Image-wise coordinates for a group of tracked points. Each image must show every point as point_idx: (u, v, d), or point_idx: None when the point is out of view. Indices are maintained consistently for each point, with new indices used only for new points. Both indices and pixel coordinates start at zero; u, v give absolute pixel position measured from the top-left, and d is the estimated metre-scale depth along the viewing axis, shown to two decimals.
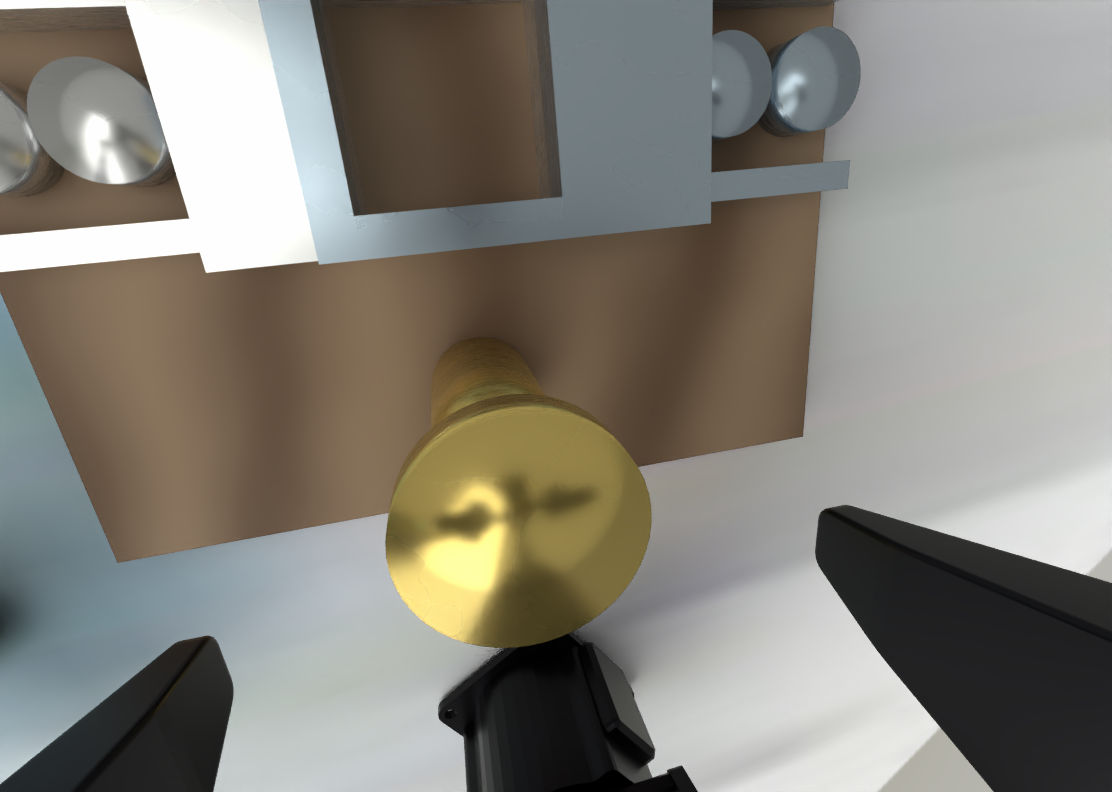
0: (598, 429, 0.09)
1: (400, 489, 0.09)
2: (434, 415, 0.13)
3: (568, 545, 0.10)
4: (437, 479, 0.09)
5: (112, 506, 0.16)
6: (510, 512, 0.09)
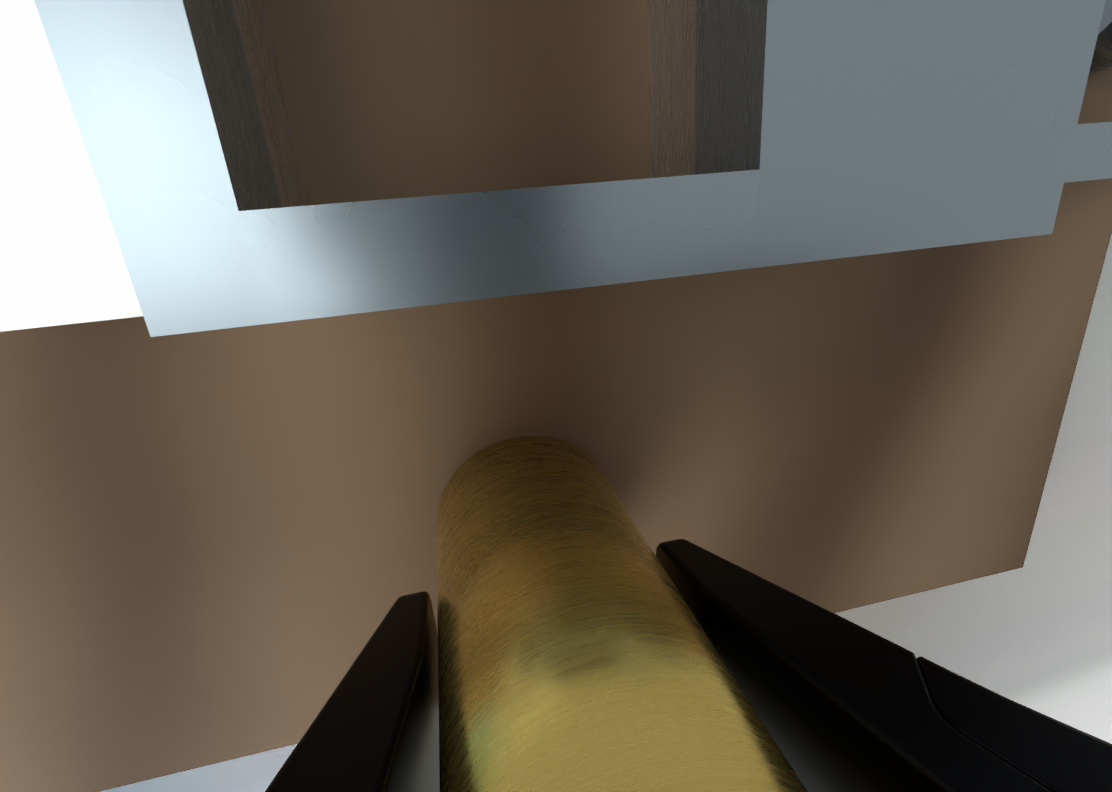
0: None
1: None
2: (448, 702, 0.05)
3: None
4: None
5: None
6: None
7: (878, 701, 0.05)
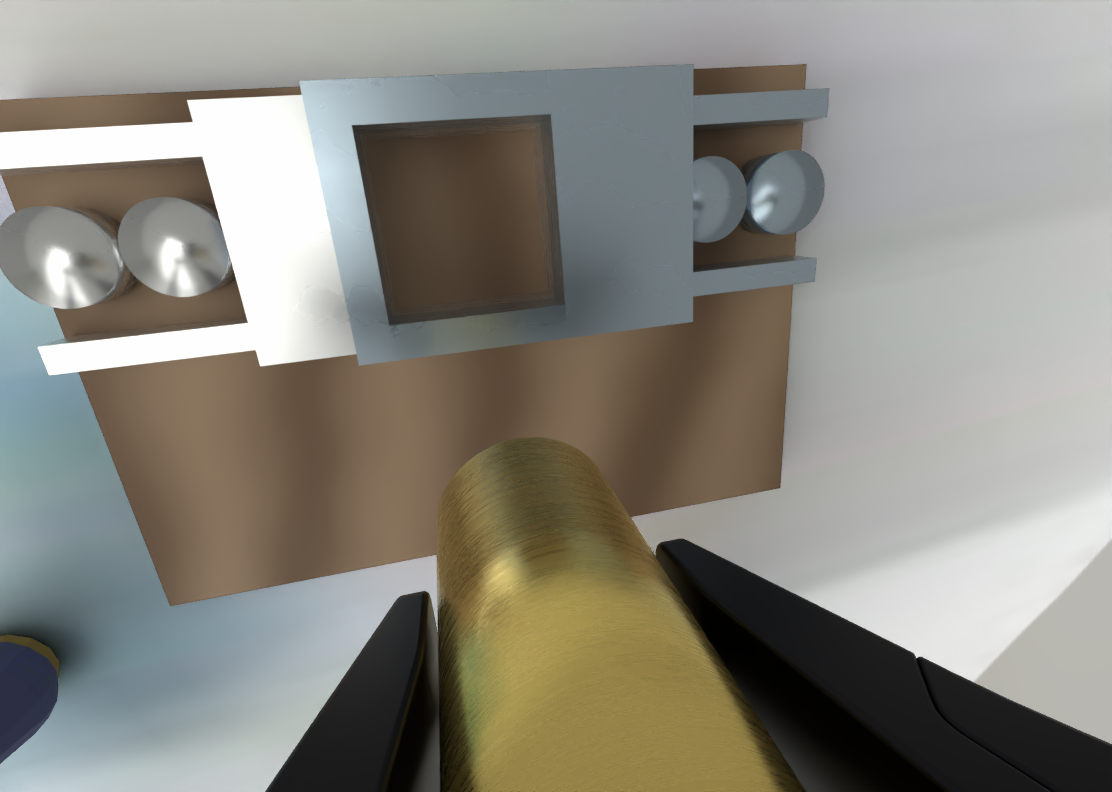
0: None
1: None
2: (448, 704, 0.05)
3: None
4: None
5: (167, 557, 0.19)
6: None
7: (878, 701, 0.05)
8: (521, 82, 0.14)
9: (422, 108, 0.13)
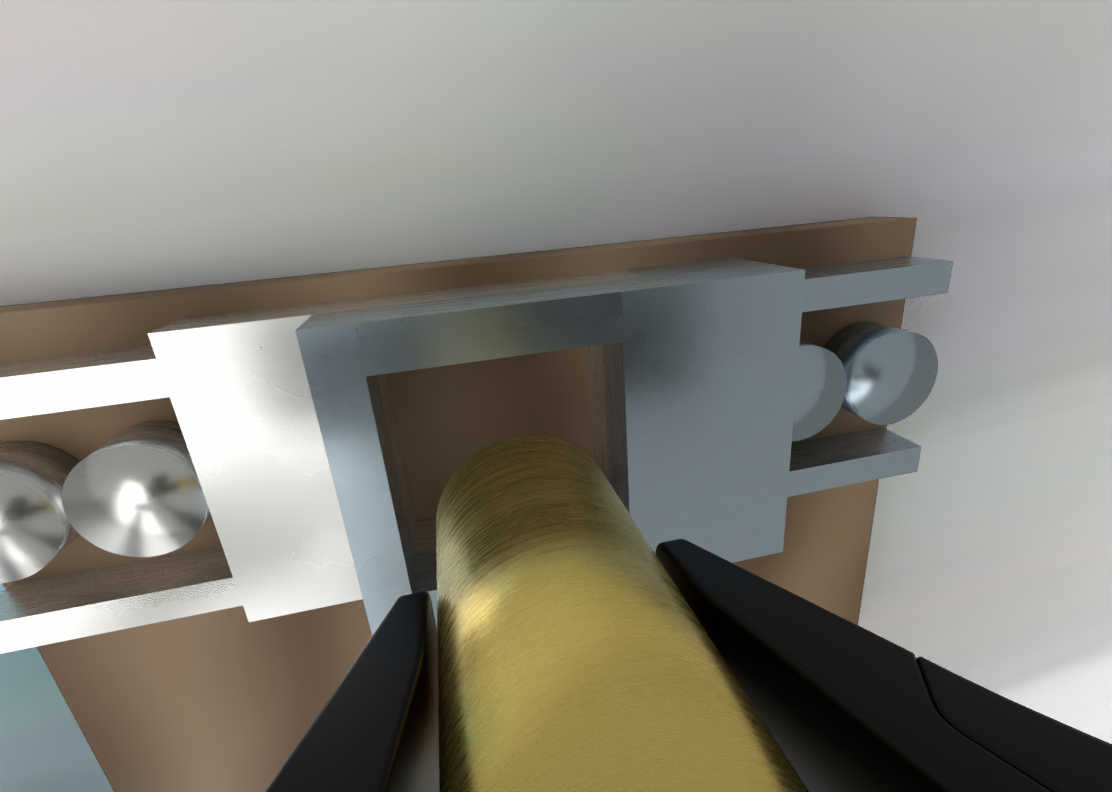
0: None
1: None
2: (448, 702, 0.05)
3: None
4: None
5: None
6: None
7: (877, 701, 0.05)
8: (587, 308, 0.10)
9: (458, 349, 0.10)
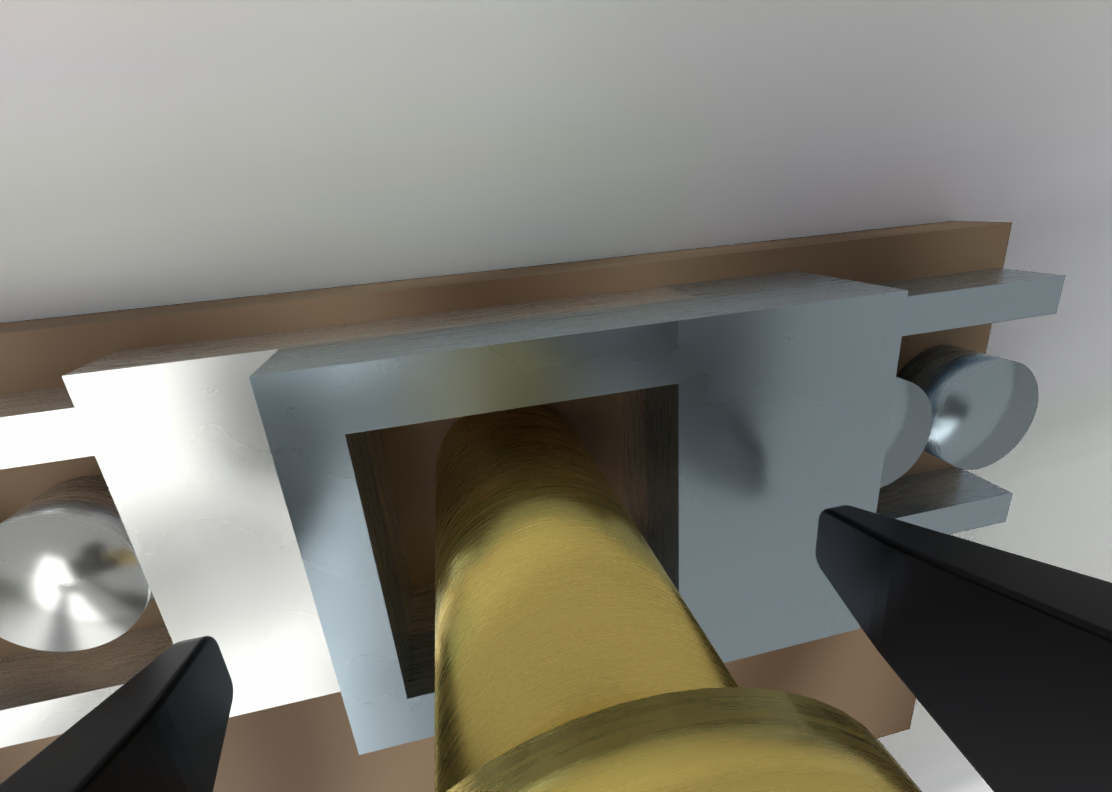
0: None
1: None
2: (441, 574, 0.07)
3: None
4: None
5: None
6: None
7: None
8: (634, 342, 0.08)
9: (467, 397, 0.08)
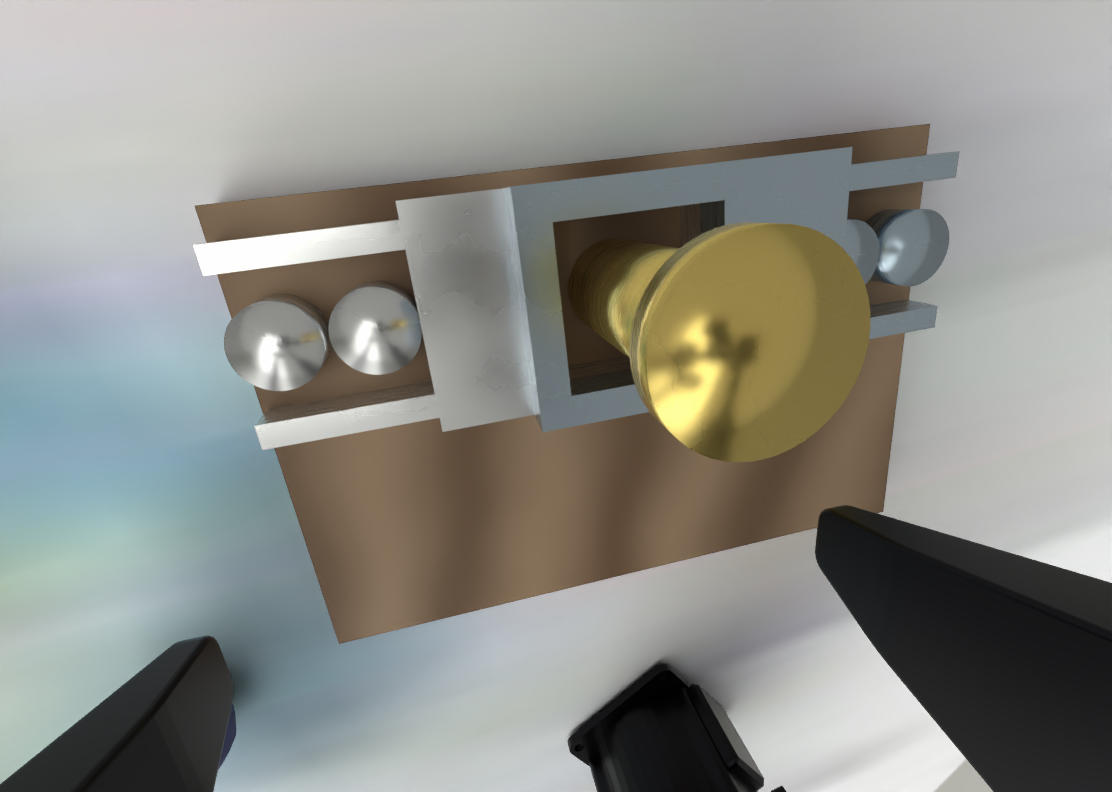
0: (837, 244, 0.10)
1: (668, 294, 0.09)
2: (610, 287, 0.14)
3: (797, 361, 0.10)
4: (700, 285, 0.09)
5: (339, 601, 0.20)
6: (754, 323, 0.10)
7: None
8: (701, 174, 0.15)
9: (614, 203, 0.15)
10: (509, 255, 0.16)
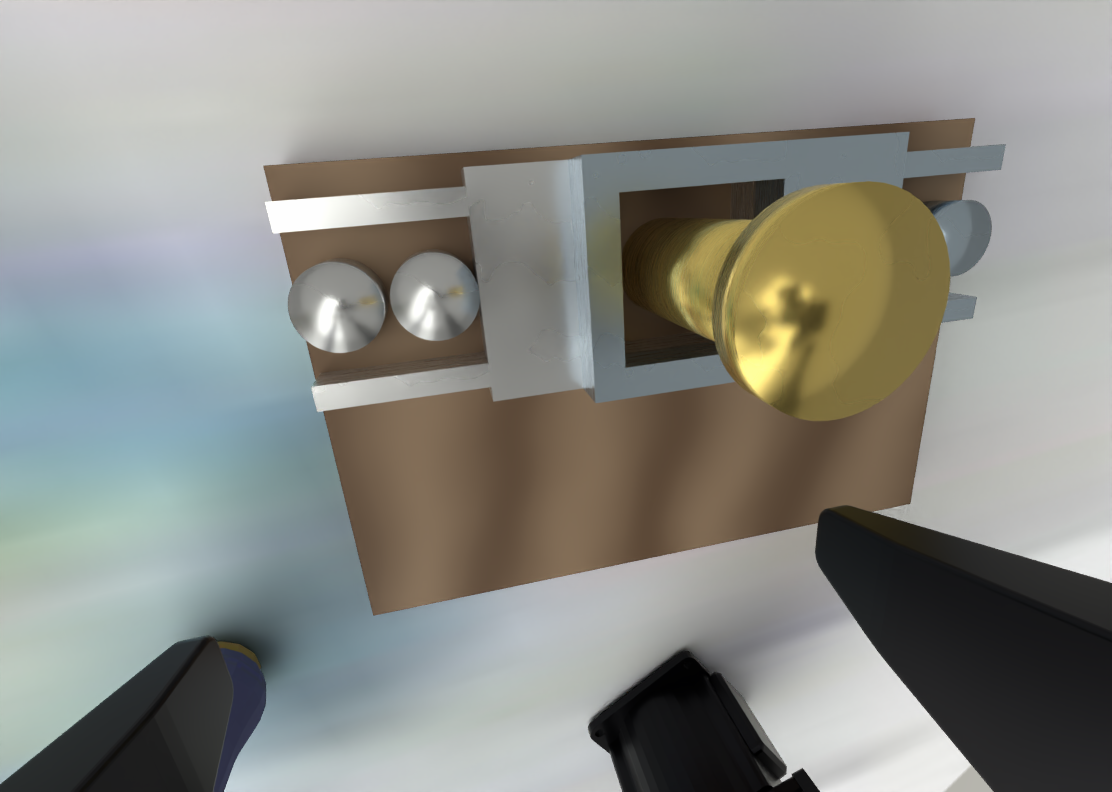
0: (924, 205, 0.10)
1: (762, 246, 0.10)
2: (675, 257, 0.14)
3: (878, 321, 0.11)
4: (793, 239, 0.10)
5: (376, 571, 0.20)
6: (841, 280, 0.10)
7: None
8: (764, 151, 0.15)
9: (679, 176, 0.15)
10: (569, 226, 0.16)
